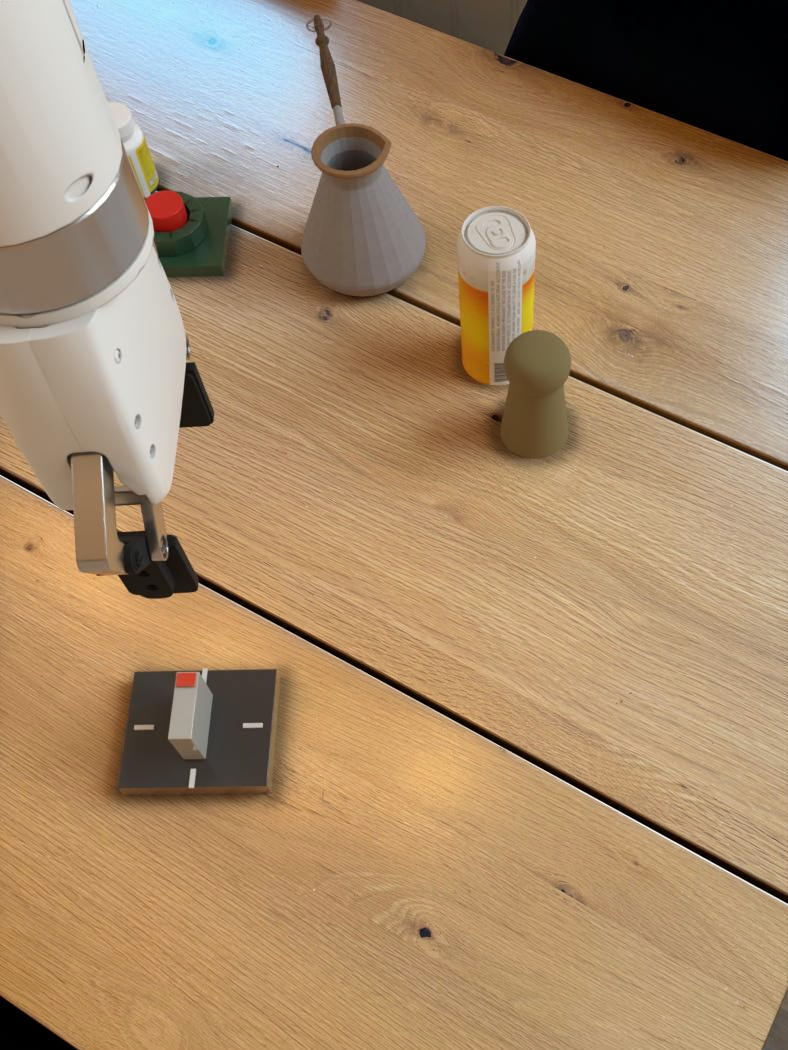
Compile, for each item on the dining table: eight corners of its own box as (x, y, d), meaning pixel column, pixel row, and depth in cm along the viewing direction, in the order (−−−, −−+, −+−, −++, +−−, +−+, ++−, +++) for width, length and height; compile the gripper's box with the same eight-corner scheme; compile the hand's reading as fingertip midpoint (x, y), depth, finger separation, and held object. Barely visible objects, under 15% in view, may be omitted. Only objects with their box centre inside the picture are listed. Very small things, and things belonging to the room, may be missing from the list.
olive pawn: (557, 474, 88) (564, 386, 78) (488, 456, 89) (487, 367, 79) (578, 419, 90) (587, 327, 80) (511, 402, 91) (512, 309, 81)
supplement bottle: (146, 168, 105) (118, 91, 98) (171, 193, 104) (145, 117, 96) (104, 190, 104) (73, 114, 96) (129, 216, 102) (99, 140, 95)
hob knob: (206, 759, 74) (190, 737, 70) (183, 759, 74) (166, 737, 70) (213, 694, 76) (198, 669, 73) (191, 694, 76) (175, 670, 73)
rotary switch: (127, 800, 75) (115, 788, 73) (144, 684, 80) (133, 669, 77) (273, 798, 75) (266, 786, 73) (283, 681, 80) (276, 666, 77)
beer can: (515, 331, 95) (518, 193, 81) (541, 380, 92) (548, 246, 79) (452, 350, 94) (444, 214, 80) (477, 400, 91) (473, 268, 78)
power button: (146, 234, 96) (140, 218, 95) (151, 206, 98) (145, 190, 96) (185, 233, 96) (180, 217, 94) (189, 205, 98) (184, 189, 96)
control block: (119, 286, 98) (105, 252, 95) (133, 217, 102) (119, 182, 99) (226, 283, 98) (216, 250, 94) (235, 215, 102) (226, 180, 98)
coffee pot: (439, 300, 97) (429, 160, 83) (316, 323, 96) (286, 185, 82) (395, 147, 106) (380, -1, 93) (283, 166, 105) (251, 19, 92)
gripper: (-33, 59, 40) (119, 369, 55) (-135, 421, 32) (74, 666, 47) (165, 48, 40) (262, 361, 55) (111, 408, 32) (241, 657, 47)
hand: (175, 501), depth 51 cm, fingers open, 9 cm apart
